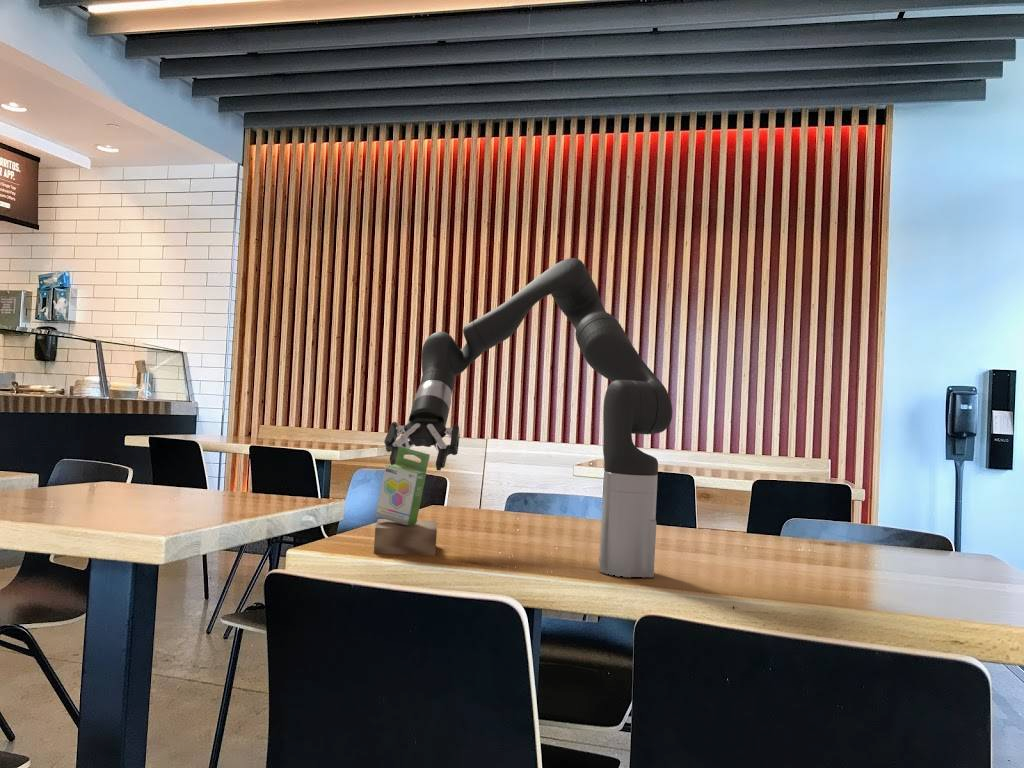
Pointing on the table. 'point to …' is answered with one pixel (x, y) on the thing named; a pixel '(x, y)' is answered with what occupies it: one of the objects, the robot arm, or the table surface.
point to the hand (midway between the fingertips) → (415, 466)
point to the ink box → (403, 488)
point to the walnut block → (405, 538)
